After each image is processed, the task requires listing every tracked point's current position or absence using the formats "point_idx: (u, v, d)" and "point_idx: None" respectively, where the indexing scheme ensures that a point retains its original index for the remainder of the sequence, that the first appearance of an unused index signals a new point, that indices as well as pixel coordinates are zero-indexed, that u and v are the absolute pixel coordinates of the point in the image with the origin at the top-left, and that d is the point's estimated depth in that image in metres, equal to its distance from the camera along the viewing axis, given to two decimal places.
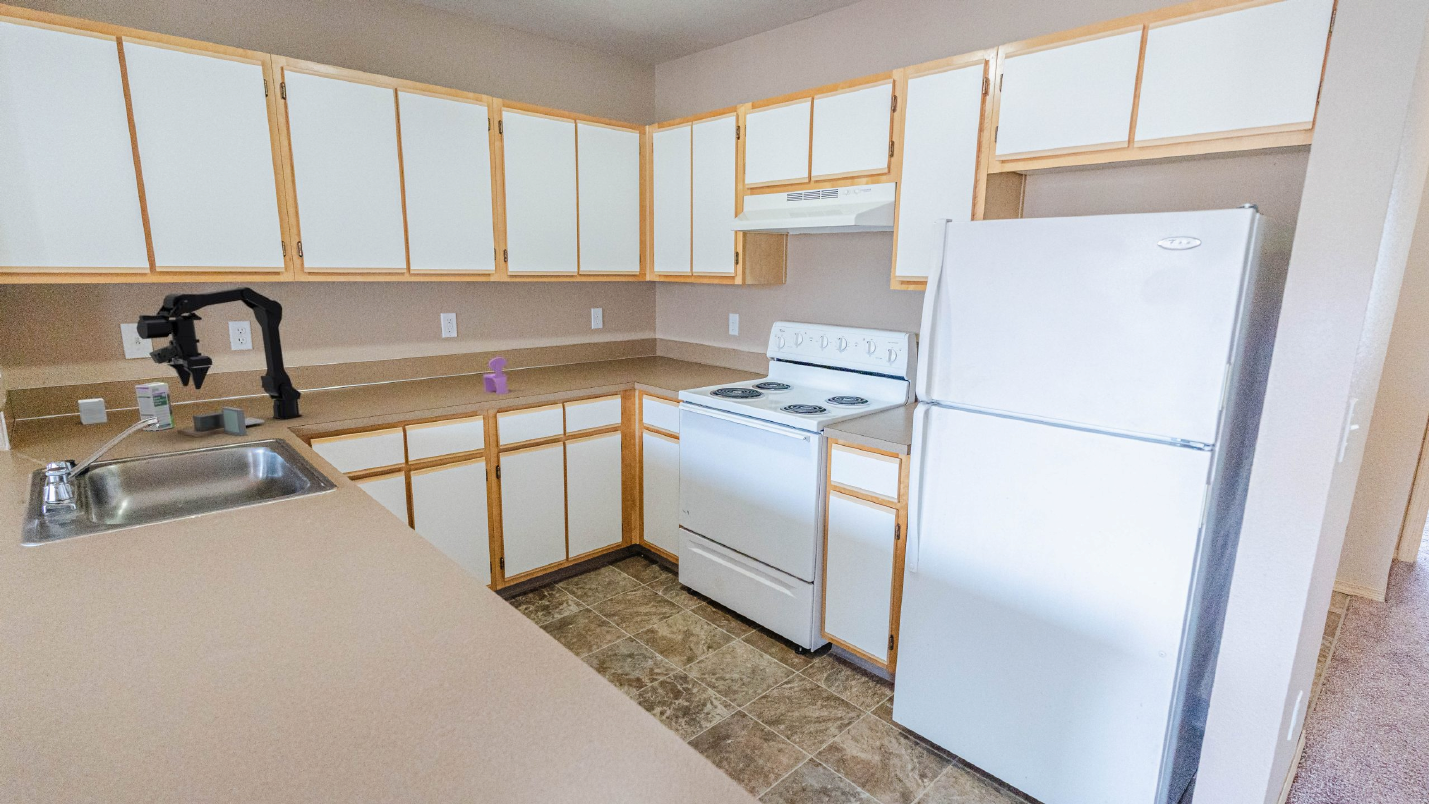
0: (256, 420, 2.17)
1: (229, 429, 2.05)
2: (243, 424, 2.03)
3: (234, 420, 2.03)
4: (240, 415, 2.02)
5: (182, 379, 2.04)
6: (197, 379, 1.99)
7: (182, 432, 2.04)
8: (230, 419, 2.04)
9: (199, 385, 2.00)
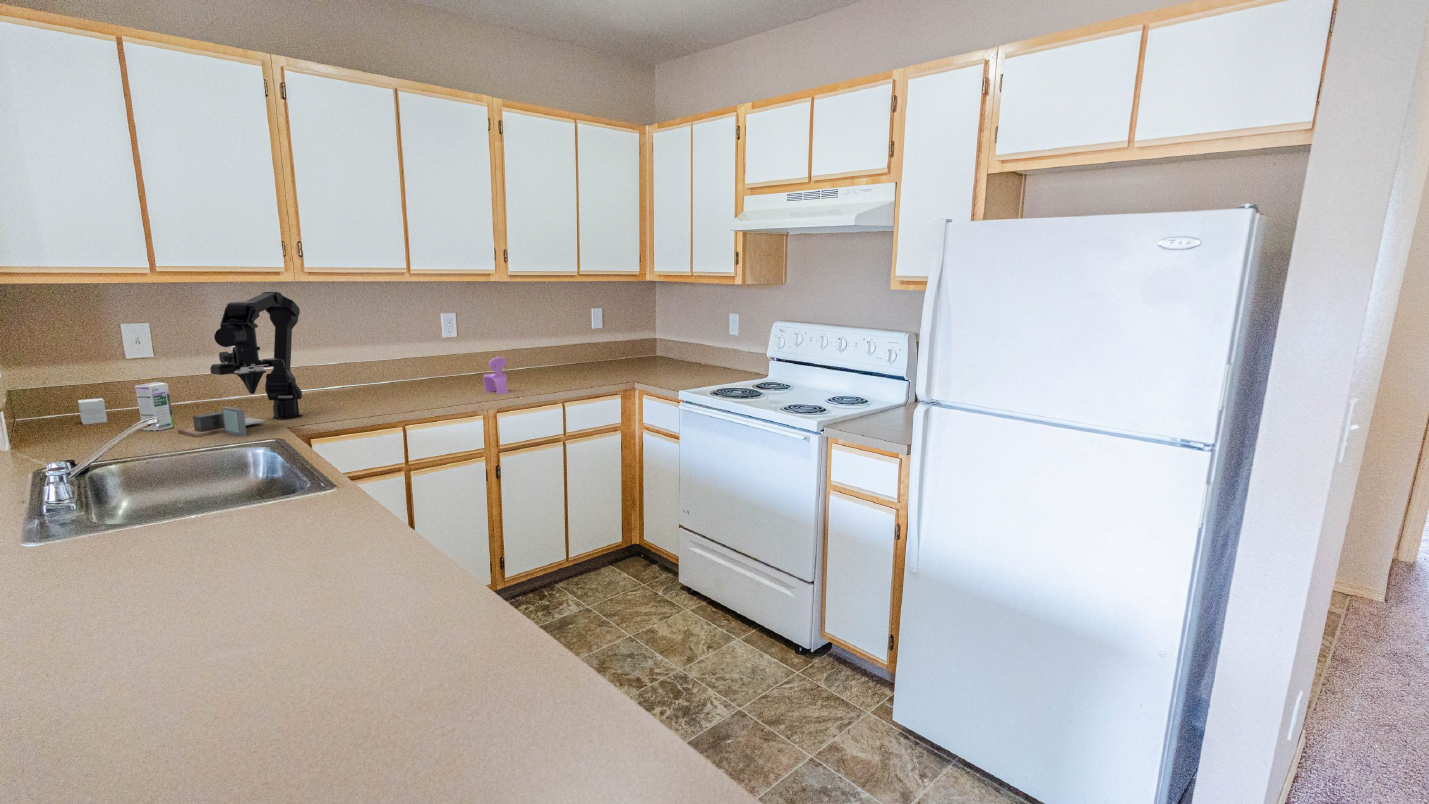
0: (256, 420, 2.17)
1: (229, 429, 2.05)
2: (243, 424, 2.03)
3: (234, 420, 2.03)
4: (240, 415, 2.02)
5: None
6: (246, 384, 2.07)
7: (182, 432, 2.04)
8: (230, 419, 2.04)
9: (249, 390, 2.08)
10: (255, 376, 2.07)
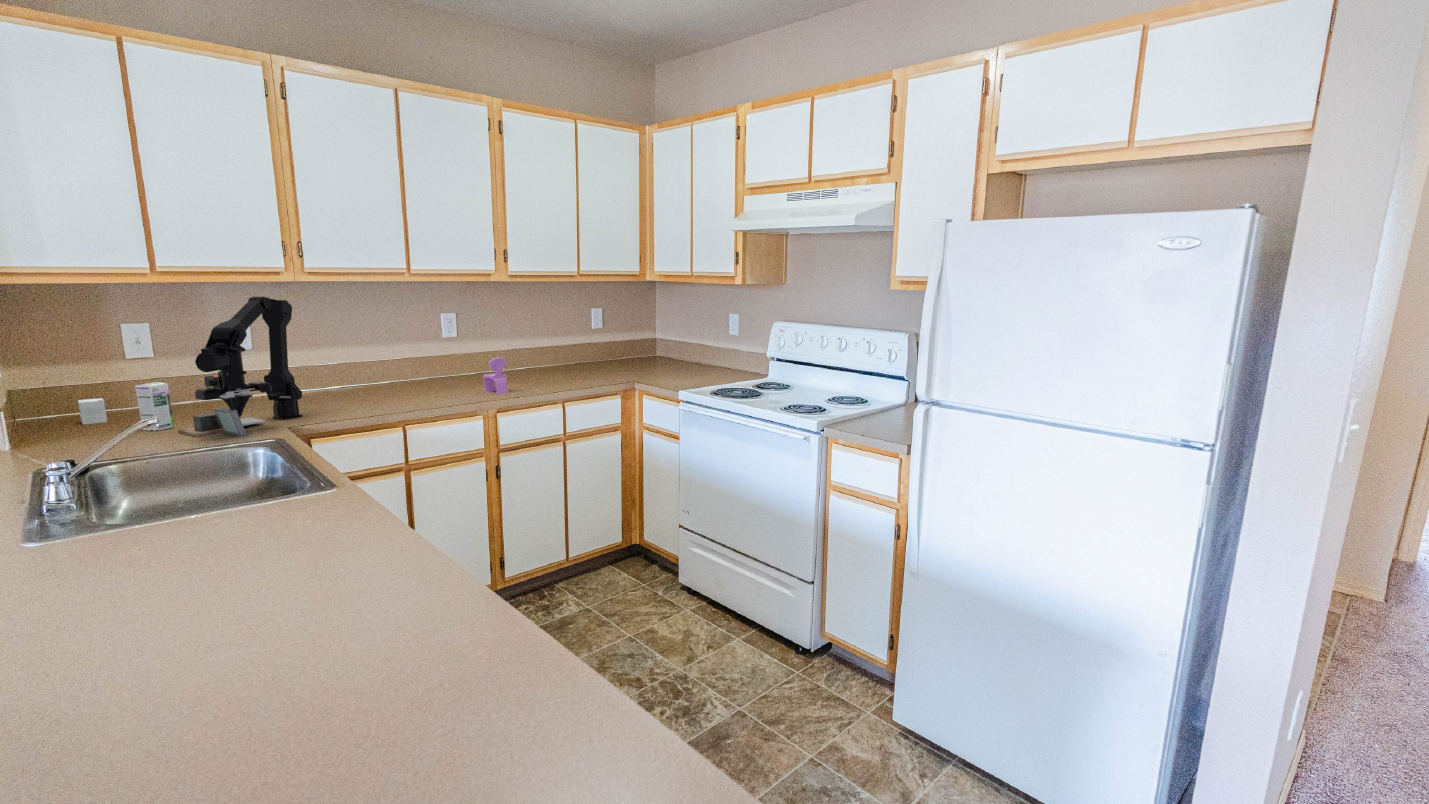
0: (256, 420, 2.17)
1: (228, 429, 2.05)
2: (240, 424, 2.02)
3: (230, 421, 2.02)
4: (235, 416, 2.01)
5: None
6: None
7: (182, 432, 2.04)
8: (226, 420, 2.03)
9: None
10: (241, 400, 2.04)
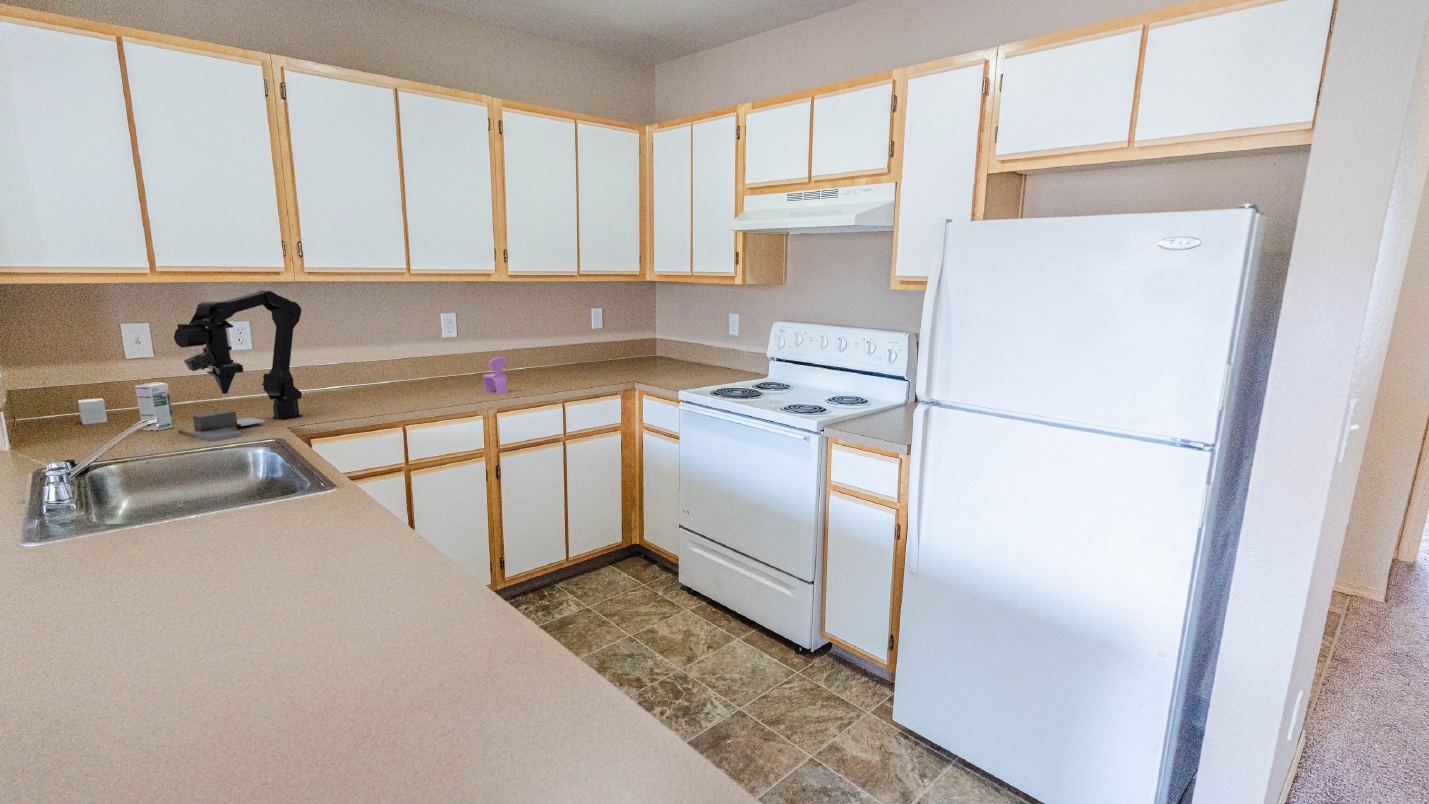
0: (256, 420, 2.17)
1: None
2: (228, 436, 2.00)
3: None
4: (218, 439, 1.97)
5: None
6: (224, 384, 2.07)
7: (182, 432, 2.04)
8: None
9: (226, 390, 2.08)
10: None
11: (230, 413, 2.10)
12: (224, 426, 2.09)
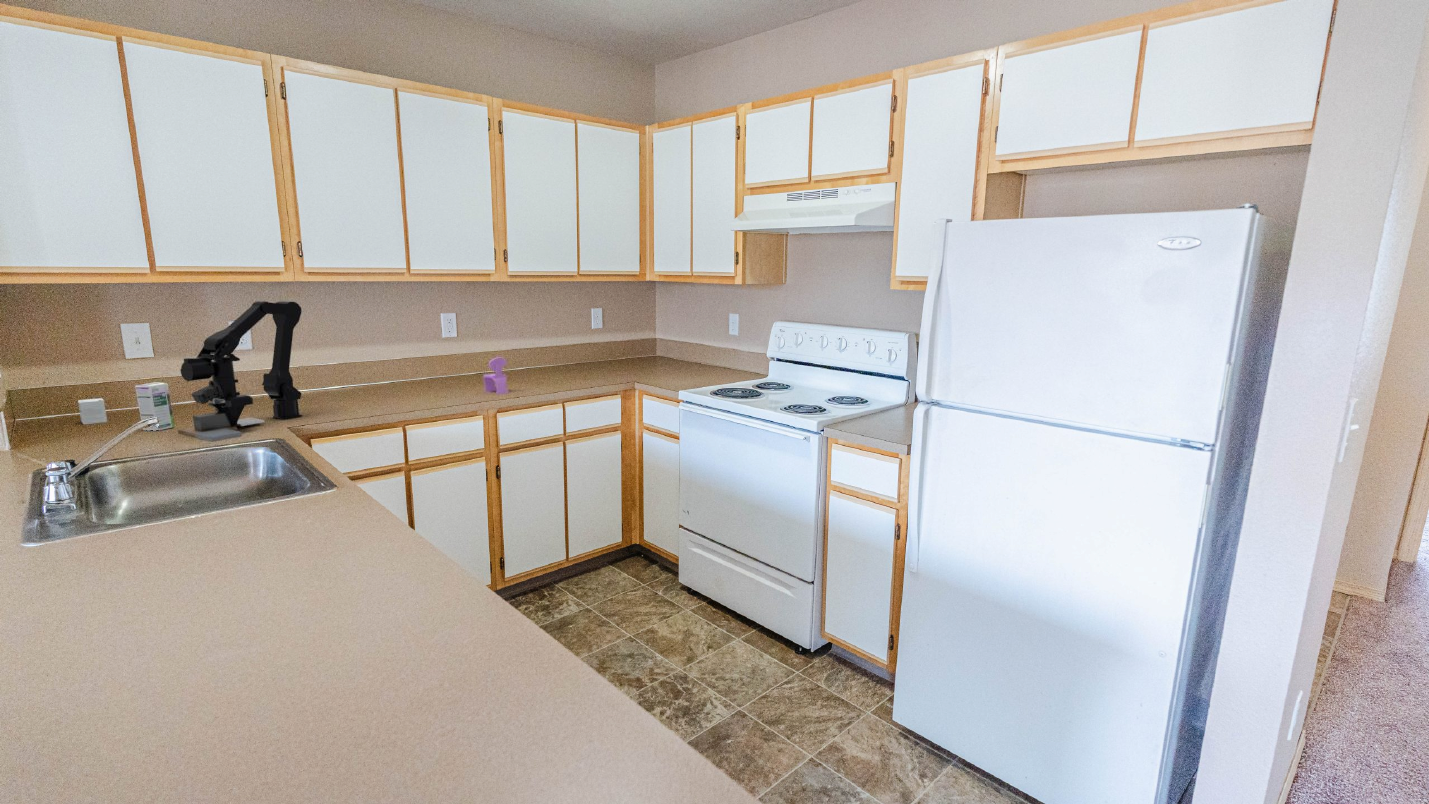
0: (256, 420, 2.17)
1: None
2: (228, 436, 2.00)
3: None
4: (218, 439, 1.97)
5: None
6: (233, 417, 2.10)
7: (182, 432, 2.04)
8: None
9: (235, 422, 2.11)
10: None
11: None
12: (224, 426, 2.09)
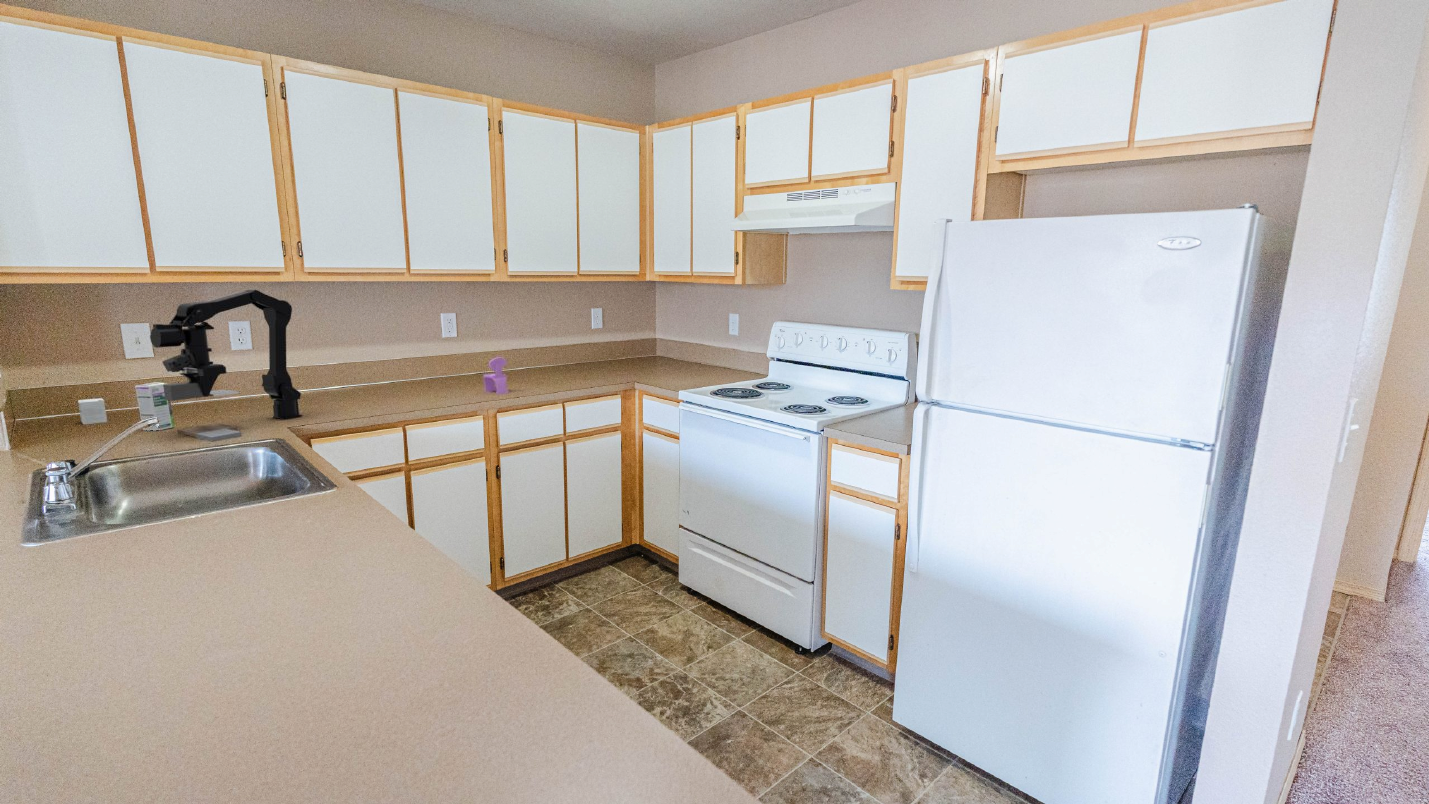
0: (230, 391, 2.10)
1: None
2: (228, 435, 2.00)
3: None
4: (218, 439, 1.97)
5: None
6: (206, 387, 2.03)
7: (182, 432, 2.04)
8: None
9: (207, 392, 2.04)
10: None
11: None
12: (196, 396, 2.02)
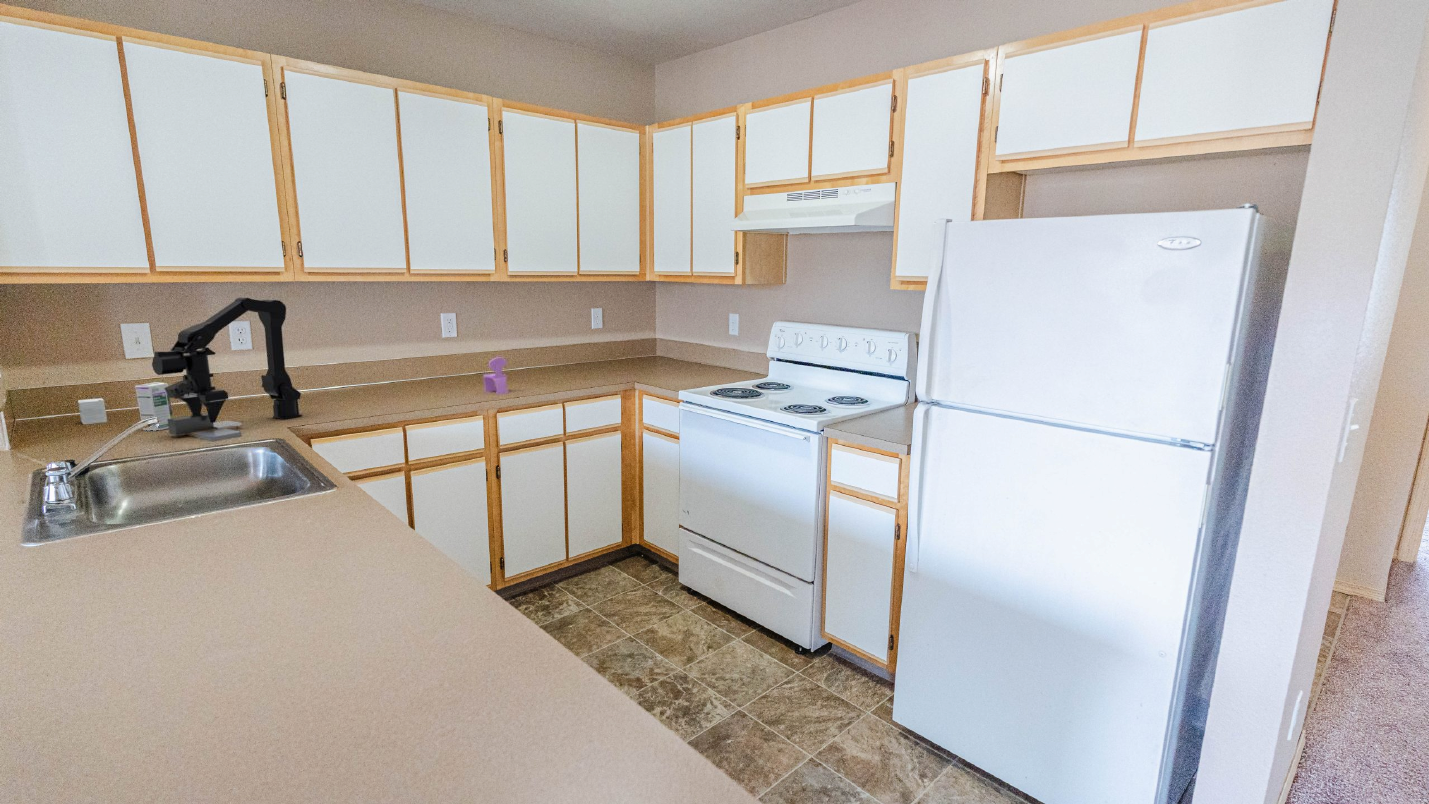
0: (233, 423, 2.12)
1: None
2: (228, 435, 2.00)
3: None
4: (218, 439, 1.97)
5: (194, 413, 2.08)
6: (212, 413, 2.04)
7: None
8: None
9: (214, 418, 2.05)
10: (201, 400, 2.10)
11: (206, 416, 2.06)
12: (200, 429, 2.04)
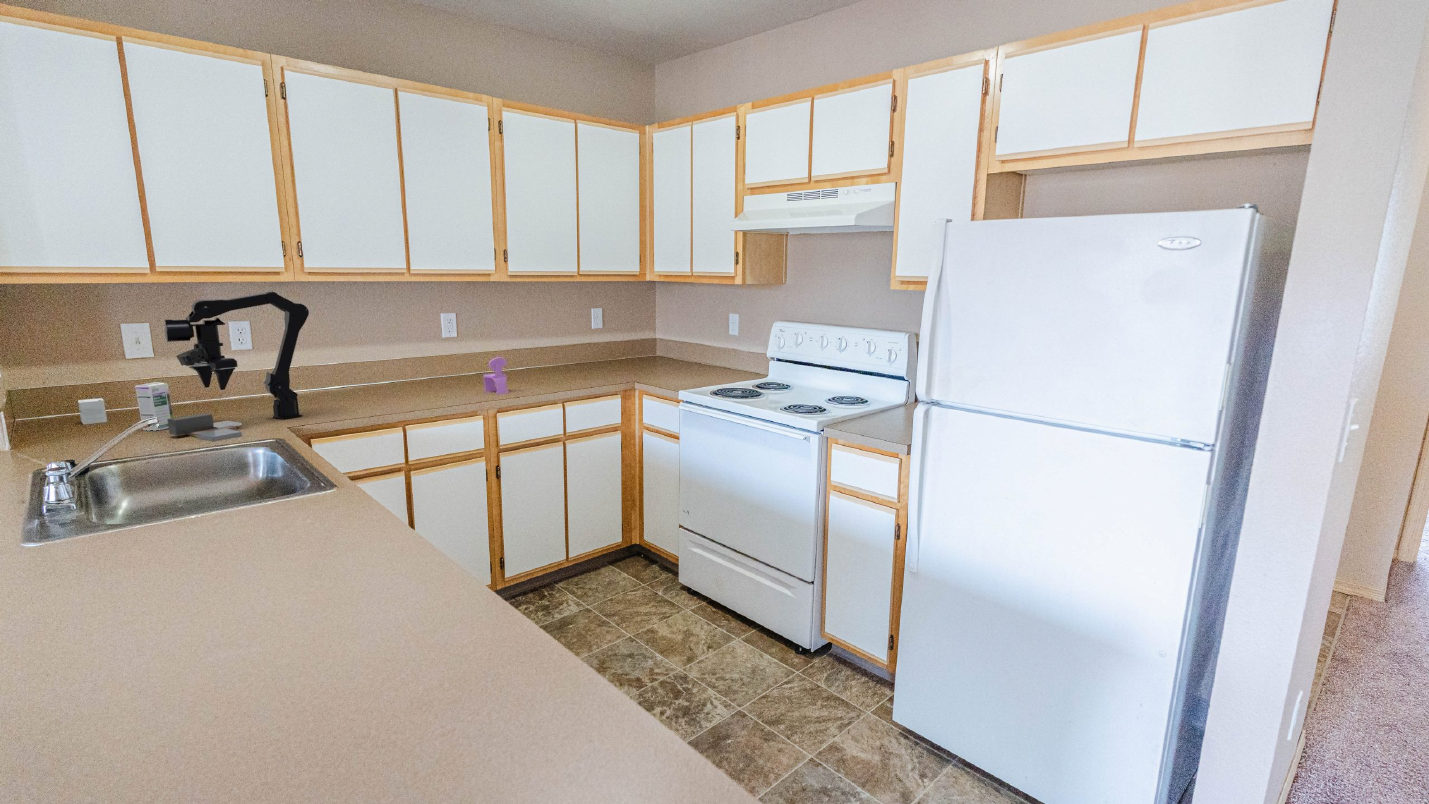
0: (233, 423, 2.12)
1: None
2: (229, 435, 2.00)
3: None
4: (218, 439, 1.97)
5: (204, 381, 2.16)
6: (222, 380, 2.11)
7: None
8: None
9: (224, 386, 2.12)
10: (211, 369, 2.17)
11: (206, 416, 2.06)
12: (200, 429, 2.04)
